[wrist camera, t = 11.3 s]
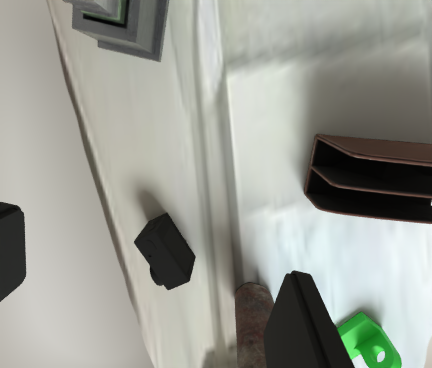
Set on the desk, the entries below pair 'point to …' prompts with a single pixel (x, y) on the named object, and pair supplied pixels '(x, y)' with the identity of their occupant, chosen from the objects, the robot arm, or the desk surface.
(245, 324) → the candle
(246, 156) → the desk surface
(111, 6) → the column
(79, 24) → the stand base
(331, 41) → the desk surface
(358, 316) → the mechanical part
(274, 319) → the robot arm
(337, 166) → the letter holder
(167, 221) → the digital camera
